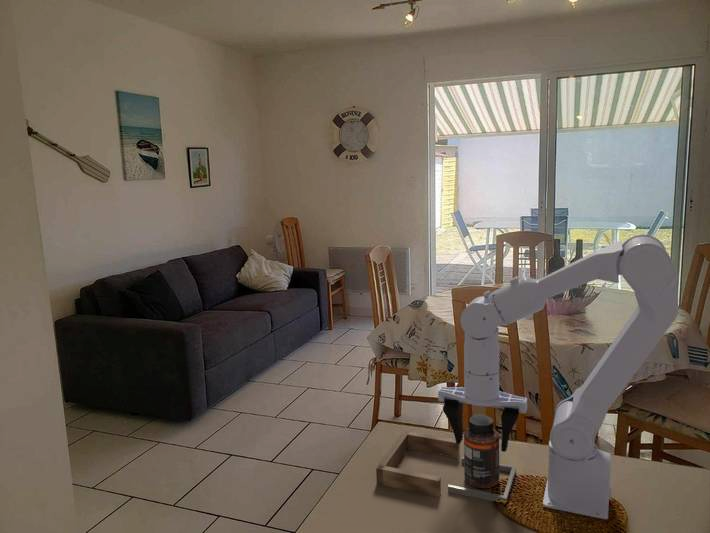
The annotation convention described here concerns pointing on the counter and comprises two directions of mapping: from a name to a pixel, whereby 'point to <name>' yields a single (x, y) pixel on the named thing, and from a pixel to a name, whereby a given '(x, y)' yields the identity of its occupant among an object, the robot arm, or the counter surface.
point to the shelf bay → (410, 479)
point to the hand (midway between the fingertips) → (481, 444)
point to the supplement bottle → (481, 452)
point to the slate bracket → (484, 494)
